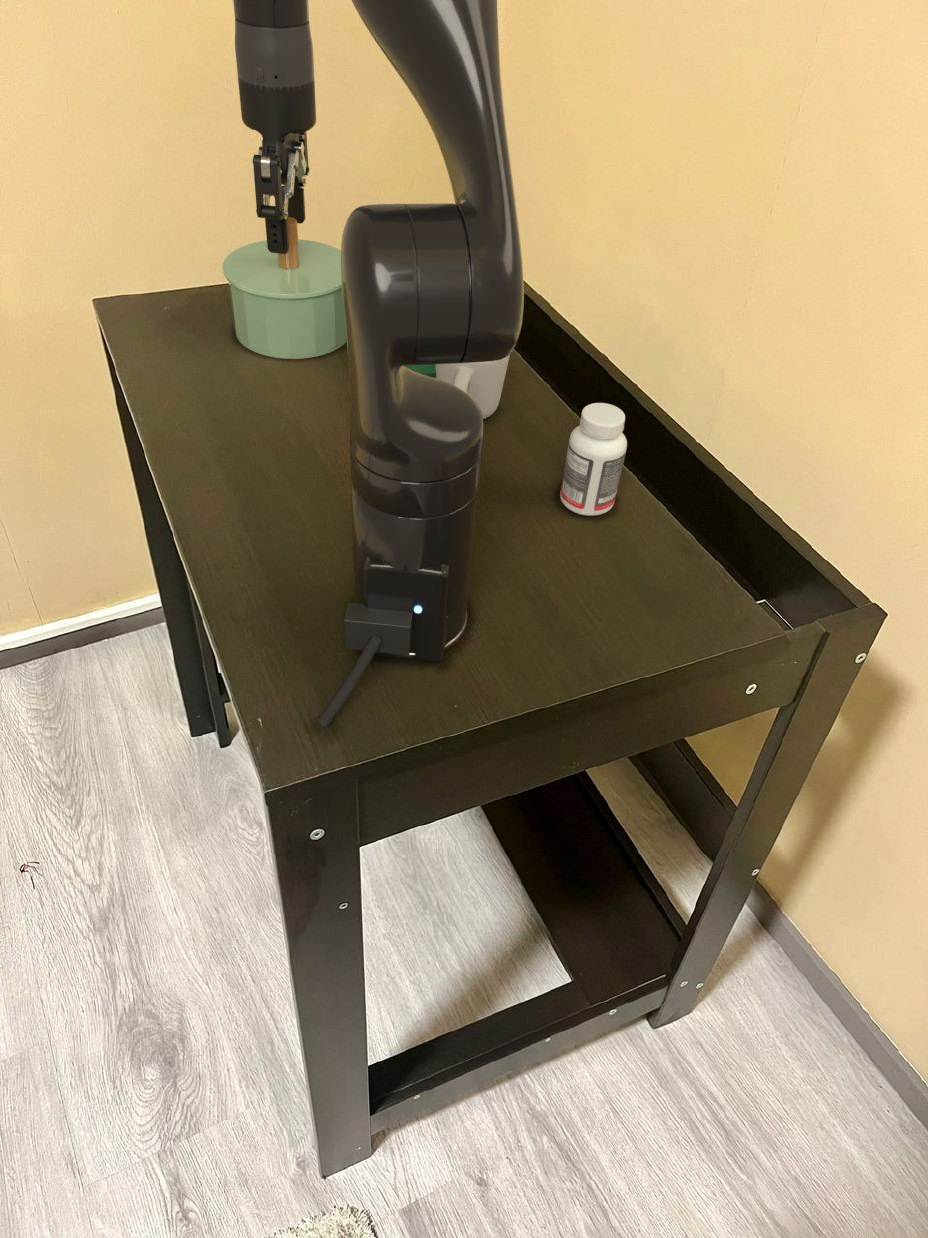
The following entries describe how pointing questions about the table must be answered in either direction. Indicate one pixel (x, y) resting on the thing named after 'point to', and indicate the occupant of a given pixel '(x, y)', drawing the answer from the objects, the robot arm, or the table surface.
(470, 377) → the cup
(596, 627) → the table surface
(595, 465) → the pill bottle
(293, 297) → the lid
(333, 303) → the pot
